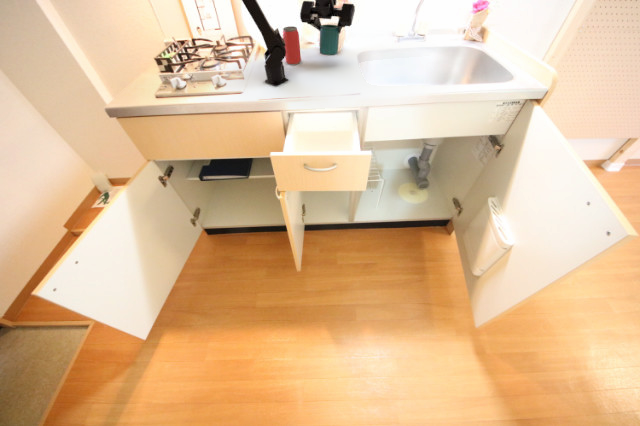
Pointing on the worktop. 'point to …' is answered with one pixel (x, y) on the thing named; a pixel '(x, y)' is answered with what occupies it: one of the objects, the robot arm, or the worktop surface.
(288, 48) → the beer can
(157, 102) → the worktop surface
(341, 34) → the cup
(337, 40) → the jar
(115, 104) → the worktop surface
